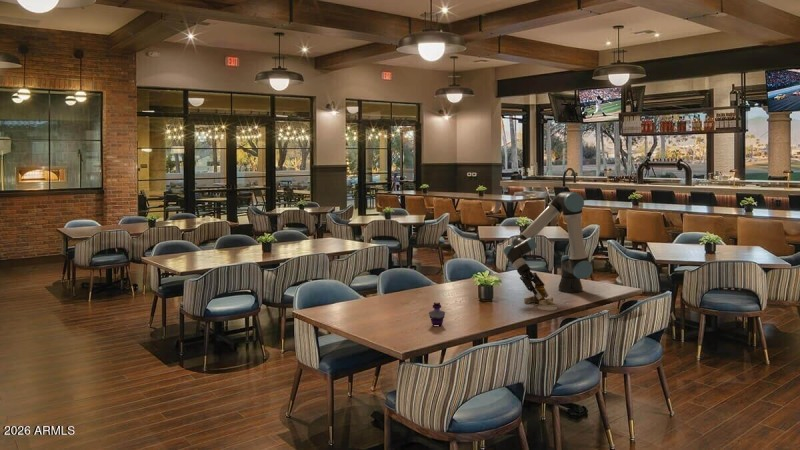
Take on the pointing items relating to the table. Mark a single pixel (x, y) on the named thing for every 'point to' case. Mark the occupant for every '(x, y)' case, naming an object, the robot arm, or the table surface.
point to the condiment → (541, 290)
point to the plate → (547, 307)
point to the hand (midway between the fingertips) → (544, 297)
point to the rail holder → (542, 302)
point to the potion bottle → (437, 314)
